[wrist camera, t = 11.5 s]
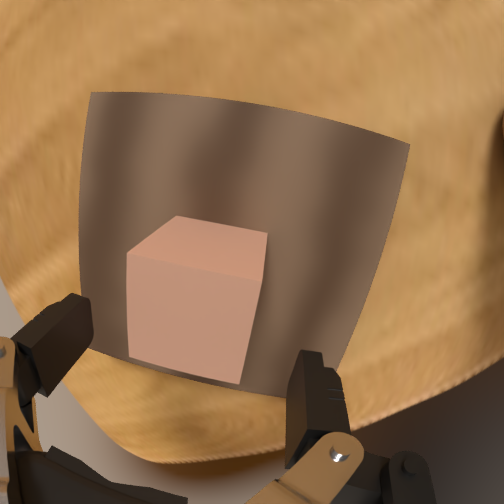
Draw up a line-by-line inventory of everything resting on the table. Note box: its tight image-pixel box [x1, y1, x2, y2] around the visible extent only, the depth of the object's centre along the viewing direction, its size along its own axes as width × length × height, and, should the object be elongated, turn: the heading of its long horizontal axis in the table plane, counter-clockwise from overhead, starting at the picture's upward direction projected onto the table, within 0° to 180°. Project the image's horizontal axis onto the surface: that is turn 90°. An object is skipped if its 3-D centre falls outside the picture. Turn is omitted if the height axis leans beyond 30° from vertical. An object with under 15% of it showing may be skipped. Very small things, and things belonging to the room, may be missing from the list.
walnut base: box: [79, 92, 410, 398], centre depth 18 cm, size 18×18×3 cm
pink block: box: [126, 216, 268, 384], centre depth 14 cm, size 5×5×6 cm
